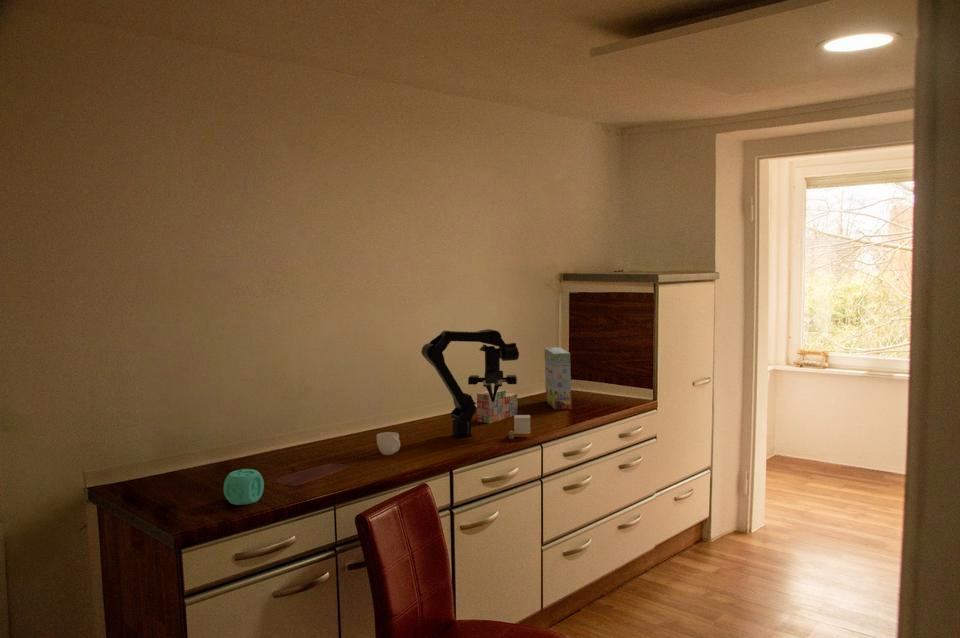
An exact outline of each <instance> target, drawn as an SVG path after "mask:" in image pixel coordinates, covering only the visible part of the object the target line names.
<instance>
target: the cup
mask: <svg viewBox="0 0 960 638" xmlns="http://www.w3.org/2000/svg"><path fill="white" fill-rule="evenodd" d="M376 444H377V448H378V450H379V451H380V453H381V454H382V455H384V456H391V455H394V454H395V453H397V452H399V450H400V449H401V441H400V434H399V433H398V432H396V431H395V432H394V431H385V432H384V431H383V432H379V433H377V434H376Z"/></svg>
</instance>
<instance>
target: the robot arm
mask: <svg viewBox="0 0 960 638" xmlns="http://www.w3.org/2000/svg"><path fill="white" fill-rule="evenodd" d="M451 342H463V343H464V342H467V343H469V342H473V343H474V342H475V343H482V345H481V347H480V348H479V349H478V350H479V351H480V352H484V377H483V376H482V377H480V375H469V376H468V378H467V379H468V380H467V381H468V382H467V384H468V385H474V386H475V385H478V383H482V384H483V385H482V386H483V387H484V388H486V391H488V392H489V395H490V398H491V401H492V402H494V400H495V397H496V393H497V390H499V388H500V387H502V386H503V383H506V384H507V385H517V384H518V379H517V377H518V376H517V375H516V374H506V376H504V370H501V369H500V367H501V366H500V365H501V363H500V360H501V361H503V362H506V361H507V362H509V361H517V360H518V359H519V357H520V352H519V349H518V347H517V343H516V342H510V343H506V342H505V340H504V339H503V338H502V334H501V332H500V331H498V330H495V329H491V328H490V329H487V328H486V329H482V330H478V331H454V330H453V331H451V330H450V331H449V330H443V331H442V332H440V333H439V335H437V336H436V337H434V338H433V339H431V340H430V341H429V342H428V343H425V344H424V345H423V346H422V348H421V351H420V352H421V355H422V357H423V358H424V359H425V360H426V361H427V363H429V364H430V365H431V366H432V367H433V368H434V369H435V371H436V372H437V374H438V376H439V377H440V379H441V380H442V382H443V383H444V385H445V387H446V389H447V390H448V391H449V393H450V395H451V397H452V400H453V405H454V409H453V410H452V411H451V412H450V413H449V414H450V417H451V419H452V420H451V421H452V433H450V434H449V435H450V436H452V437H455V438H458V439H462V438H467V437H472V436H473V435H474V434H473V433H472V423H471V422H472V419H473V417H474V415H475V414H476V413H477V402H475V401H474V399H473V397H472V395H471V394H469V393H465V392H463V390H462V388H461V387H460V385H459V383H458V382H457V380H456V379H455V377H454V376H453V374H452V372H451V371H450V369H449V367H448V365H447V364H446V360H445V356H444V351H445V350H446V349H447V348H448V345H449V344H450V343H451ZM486 344H487V345H486ZM488 345H489V346H488ZM492 384H494V385H493V387H492ZM492 389H494V393H492ZM473 437H474V436H473Z"/></svg>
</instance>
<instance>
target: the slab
mask: <svg viewBox="0 0 960 638" xmlns="http://www.w3.org/2000/svg"><path fill="white" fill-rule="evenodd" d="M513 420H514V421H513V423H514V425H513V426H514V431H513V432H514V435H515V434H516V435H517V434H520V435H522V434H527V435H529V434H531V415H530V414H518V415H514V416H513Z"/></svg>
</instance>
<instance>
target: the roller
mask: <svg viewBox="0 0 960 638" xmlns="http://www.w3.org/2000/svg"><path fill="white" fill-rule="evenodd" d="M508 439H509V440H514V439H515V434H514V431H513V430H510V431H508Z"/></svg>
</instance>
